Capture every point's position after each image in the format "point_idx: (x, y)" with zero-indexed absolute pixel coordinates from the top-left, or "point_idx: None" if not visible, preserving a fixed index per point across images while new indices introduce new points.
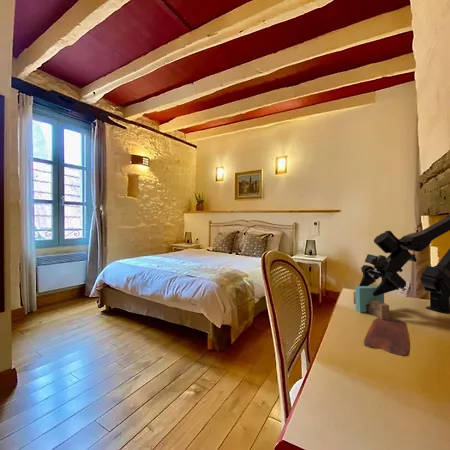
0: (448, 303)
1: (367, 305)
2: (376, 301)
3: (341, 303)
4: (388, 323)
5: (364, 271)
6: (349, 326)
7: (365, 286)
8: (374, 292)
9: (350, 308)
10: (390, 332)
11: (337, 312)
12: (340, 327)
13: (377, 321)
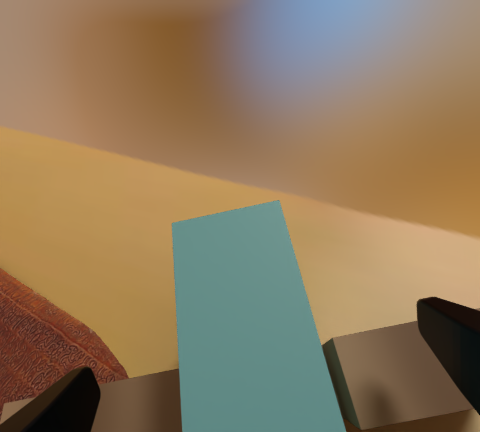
0: None
1: None
2: (125, 413)
3: (420, 235)
4: (5, 399)
5: None
6: (50, 197)
7: (293, 347)
8: (47, 389)
9: (312, 265)
10: None
11: (223, 183)
12: (49, 167)
13: (51, 341)
